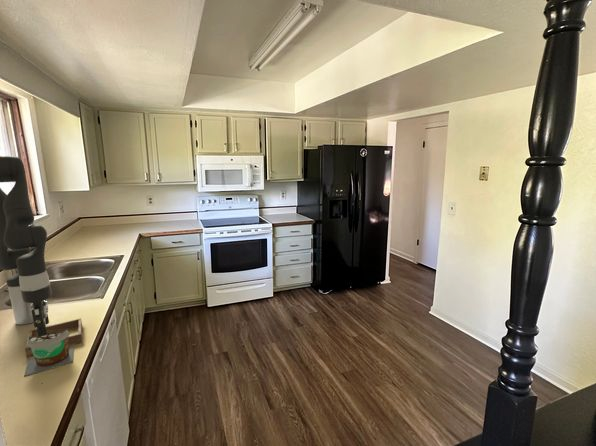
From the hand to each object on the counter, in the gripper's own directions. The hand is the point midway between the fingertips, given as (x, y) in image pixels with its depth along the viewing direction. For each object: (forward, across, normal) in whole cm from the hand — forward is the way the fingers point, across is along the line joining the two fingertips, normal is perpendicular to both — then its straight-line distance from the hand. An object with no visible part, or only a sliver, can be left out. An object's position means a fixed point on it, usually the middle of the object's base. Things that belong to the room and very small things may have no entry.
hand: (44, 329), depth 109 cm
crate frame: (+12, -15, +1) cm, 19 cm away
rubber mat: (+12, 0, 0) cm, 12 cm away
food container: (+12, +2, 0) cm, 12 cm away
